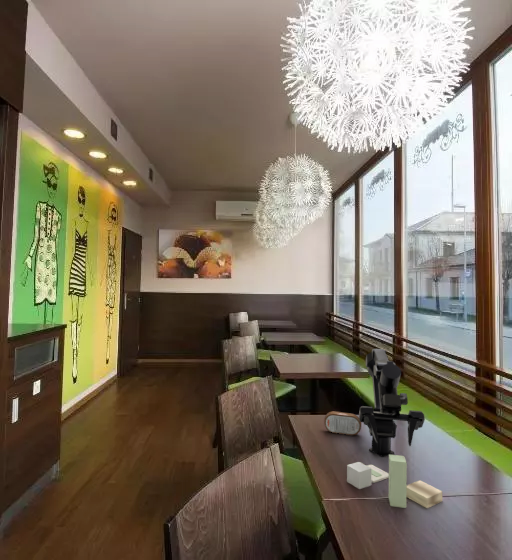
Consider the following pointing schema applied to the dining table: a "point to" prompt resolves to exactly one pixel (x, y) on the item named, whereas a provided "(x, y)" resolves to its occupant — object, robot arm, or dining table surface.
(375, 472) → the card
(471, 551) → the dining table surface
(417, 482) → the maple base
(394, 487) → the sage block
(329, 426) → the tin
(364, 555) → the dining table surface
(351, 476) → the grey cube
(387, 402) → the robot arm
